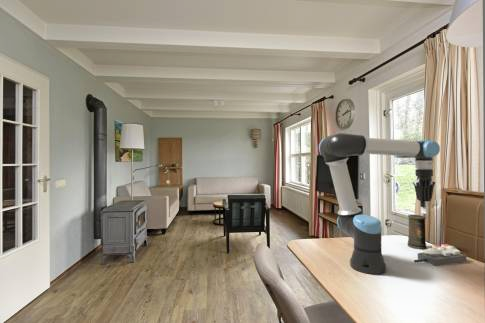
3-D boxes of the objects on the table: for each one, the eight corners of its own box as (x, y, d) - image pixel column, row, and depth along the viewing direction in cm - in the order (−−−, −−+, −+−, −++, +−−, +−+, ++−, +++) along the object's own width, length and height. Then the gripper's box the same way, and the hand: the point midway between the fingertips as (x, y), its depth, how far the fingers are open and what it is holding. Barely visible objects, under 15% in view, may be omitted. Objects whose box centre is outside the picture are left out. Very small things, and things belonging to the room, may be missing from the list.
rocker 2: (444, 257, 122) (446, 251, 121) (431, 249, 128) (433, 244, 127) (450, 256, 123) (451, 251, 122) (436, 249, 129) (438, 243, 128)
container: (404, 245, 147) (403, 215, 147) (413, 243, 151) (413, 213, 151) (420, 250, 139) (420, 218, 139) (430, 248, 143) (429, 216, 143)
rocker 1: (437, 256, 119) (435, 249, 120) (424, 254, 125) (422, 248, 126) (442, 255, 120) (440, 248, 121) (429, 254, 126) (428, 247, 127)
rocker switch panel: (424, 267, 116) (424, 260, 116) (406, 260, 125) (406, 254, 125) (466, 261, 123) (466, 255, 123) (447, 255, 132) (447, 249, 132)
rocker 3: (453, 256, 123) (455, 250, 122) (440, 248, 129) (442, 243, 129) (459, 255, 124) (460, 250, 123) (445, 248, 130) (447, 242, 130)
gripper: (421, 169, 127) (422, 215, 127) (440, 168, 131) (440, 213, 130) (408, 168, 134) (408, 212, 134) (426, 168, 138) (426, 211, 138)
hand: (424, 213), depth 132 cm, fingers closed
